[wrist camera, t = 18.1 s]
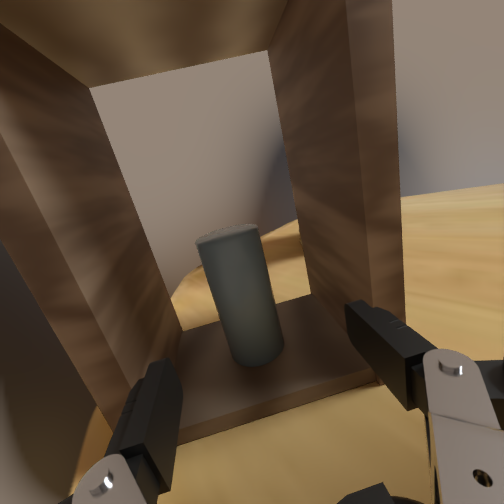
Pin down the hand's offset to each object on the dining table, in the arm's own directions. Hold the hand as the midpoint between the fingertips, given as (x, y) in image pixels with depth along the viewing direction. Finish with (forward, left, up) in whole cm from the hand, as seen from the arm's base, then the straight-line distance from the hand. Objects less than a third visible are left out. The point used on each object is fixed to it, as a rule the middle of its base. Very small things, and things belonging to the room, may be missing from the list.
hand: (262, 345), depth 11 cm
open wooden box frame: (-4, -11, -11) cm, 16 cm away
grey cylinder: (-4, -11, -9) cm, 15 cm away
